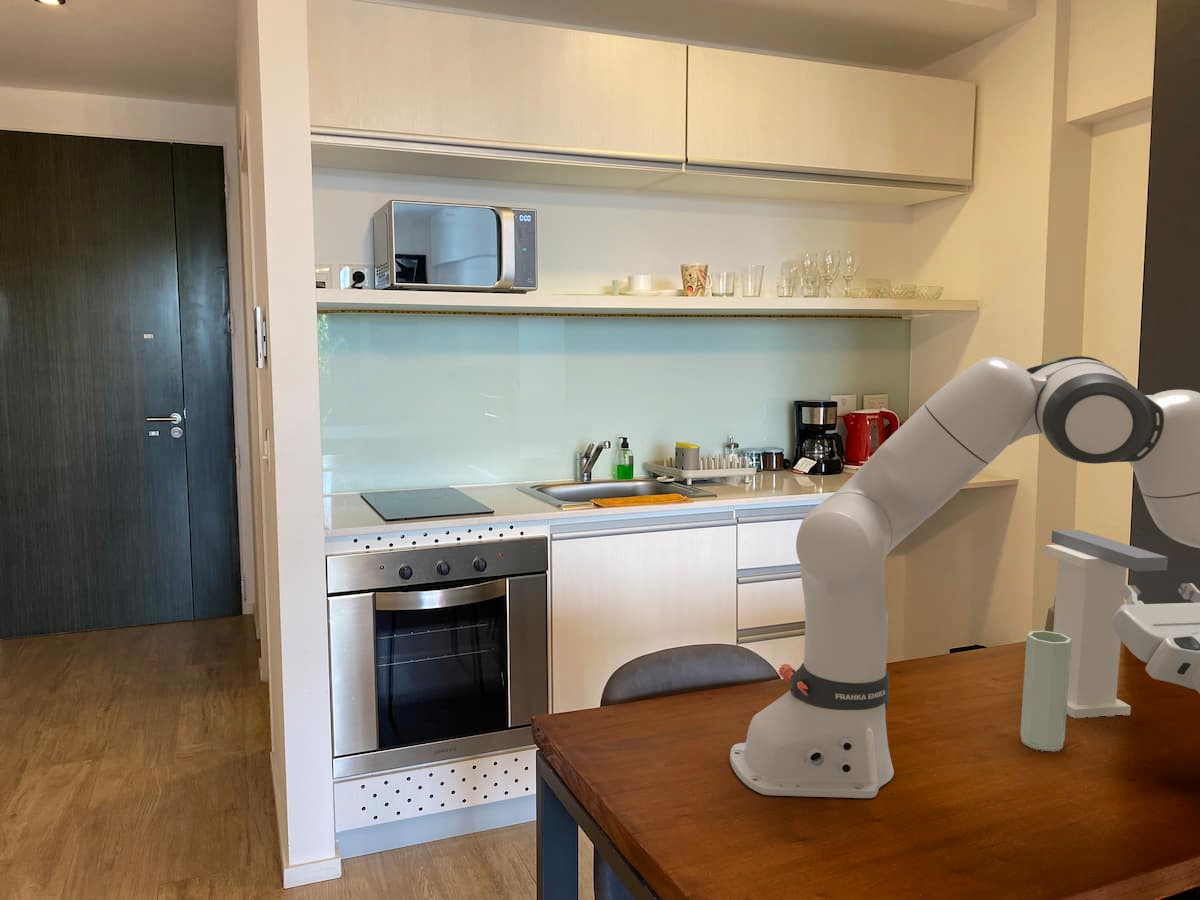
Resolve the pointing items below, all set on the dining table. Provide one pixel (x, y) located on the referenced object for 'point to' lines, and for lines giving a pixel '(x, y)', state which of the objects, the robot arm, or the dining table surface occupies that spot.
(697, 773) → the dining table surface
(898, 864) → the dining table surface
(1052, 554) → the stand
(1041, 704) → the jar
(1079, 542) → the cover
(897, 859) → the dining table surface
